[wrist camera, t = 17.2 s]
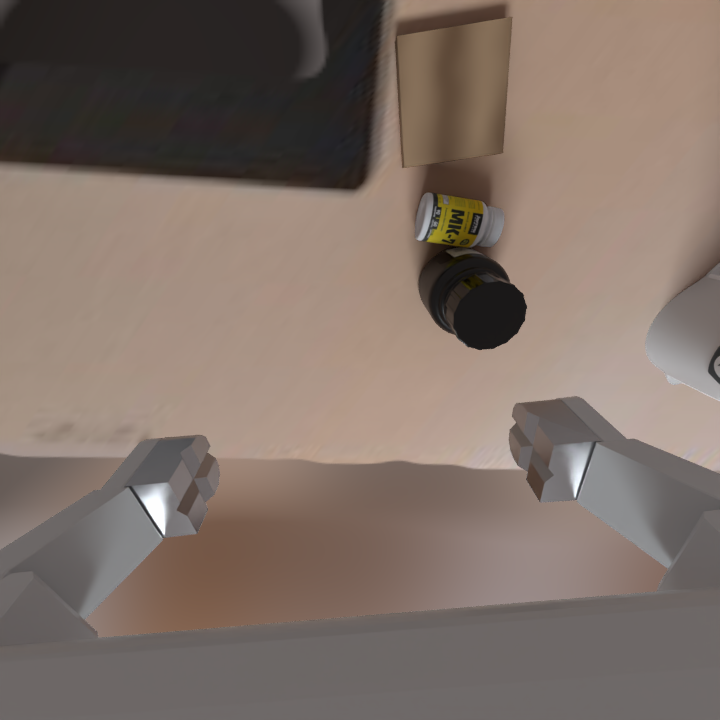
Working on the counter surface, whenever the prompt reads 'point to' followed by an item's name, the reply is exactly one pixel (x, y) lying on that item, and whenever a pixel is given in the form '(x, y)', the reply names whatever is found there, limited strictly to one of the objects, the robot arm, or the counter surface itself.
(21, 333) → the counter surface
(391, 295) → the counter surface
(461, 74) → the tan slab
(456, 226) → the supplement bottle
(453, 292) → the ink bottle
